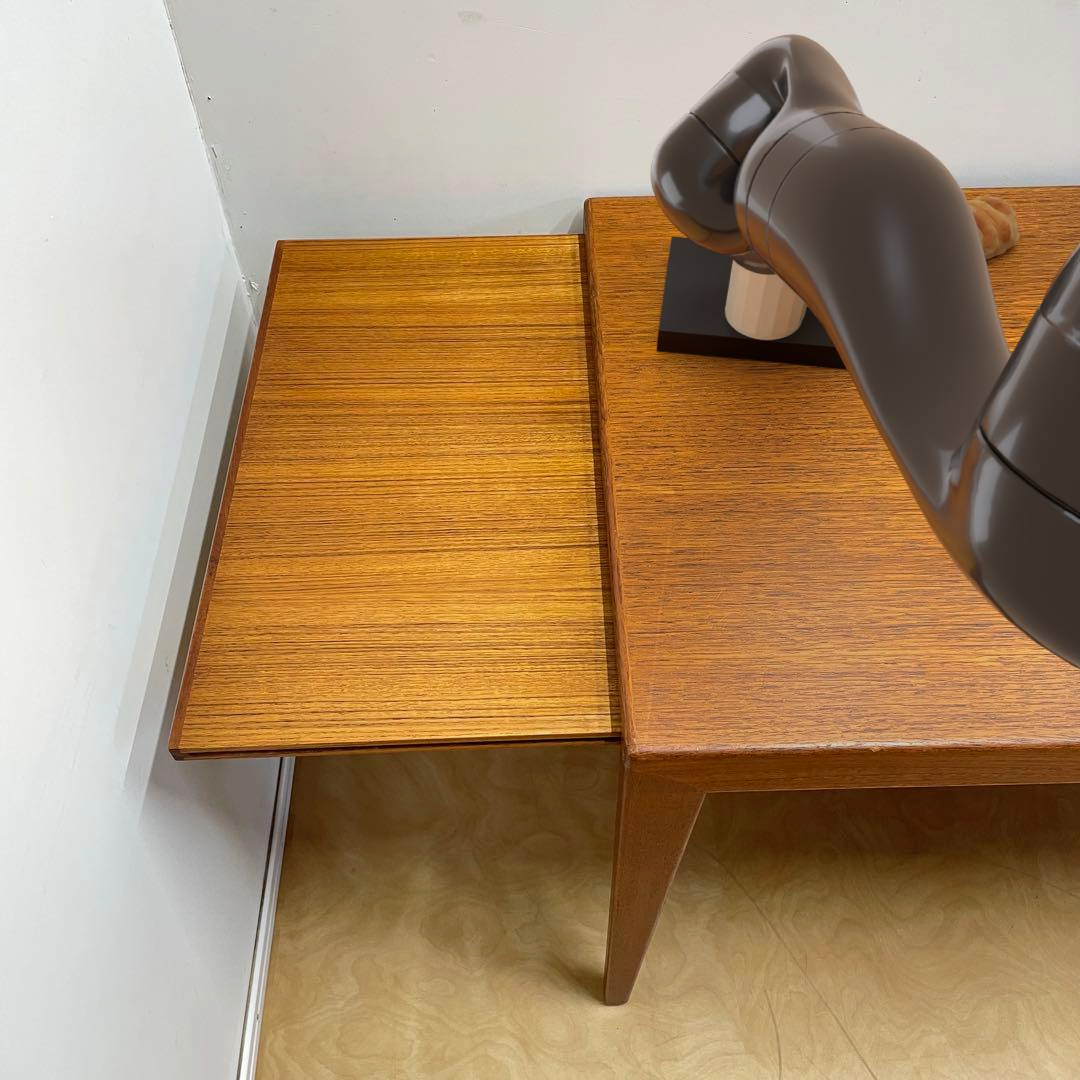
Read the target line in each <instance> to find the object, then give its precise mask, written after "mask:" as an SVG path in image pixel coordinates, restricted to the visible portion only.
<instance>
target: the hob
mask: <svg viewBox="0 0 1080 1080" xmlns="http://www.w3.org/2000/svg"><path fill="white" fill-rule="evenodd" d="M732 260H733V259H732V258H731V257H730V256H729V255H724V254H720V253H716V252H713V251H710V250H708V249H706V248H704V247H701V246H700V245H698V244H696V243H695V242H693V241H692V240H690V239H689V238H687V237H686V236H673V235H672V236H671V238H670V246H669V252H668V259H667V267H666V272H665V273H666V274H665V281H664V287H663V295H662V300H661V301H662V303H661V310H660V315H659V316H660V317H659V322H658V330H657V341H656V352H664V353H675V354H682V355H683V354H685V355H695V356H703V357H704V356H705V357H715V358H725V359H736V360H744V361H745V360H746V361H758V362H766V363H778V364H789V365H798V366H799V365H800V366H808V367H820V368H828V369H829V368H830V369H840V370H847V368H846V367H845V365H844V363H843V361H842V359H841V357H840V355H839V353H838V351H837V349H836V347H835V345H834V344H833V342H832V340H831V339H830V337H829V336H828V334H827V332H826V331H825V329H824V327H823V326H822V324H821V323H820V322H819V320H818V319H817V318H816V316H815V315H814V314H813V312H812V311H811V310H810V309H809V308H808V307H807V308H806V312H805V316H804V318H803V321H802V324H801V325H800V327H799V328H798V329H797V330H796V331H795V332H794V333H792V334H791V335H789V336H787V337H784V338H781V339H775V340H760V339H755V338H751V337H748V336H745V335H743V334H741V333H740V332H738V331H737V330H735V329H734V328H733V327H732V326H731V325H730V324H729V322H728V321H727V318H726V316H725V306H726V297H727V291H728V285H729V279H730V272H731V266H732Z"/></svg>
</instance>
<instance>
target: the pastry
mask: <svg viewBox="0 0 1080 1080" xmlns="http://www.w3.org/2000/svg"><path fill="white" fill-rule="evenodd" d="M967 201H968V204H969V206H970V208H971V211H972V213H973V215H974V218H975V220H976V223H977V226H978V229H979V232H980V236H981V241H982V245H983V250H984V254H985V259H986V261H987V260H990V259H992V258H994V257H997V256H1000V255H1003V254H1005V253H1006V251H1008V250H1009V249H1011V248H1012V247H1013V246H1015V245H1016V244H1017V243H1018V242H1019V240H1020V232H1019V224H1018V221H1017V213H1016V211H1015V208H1013V207H1012V205H1011V203H1008V201H1006V200H1005V199H1004V198H1002V197H998V196H991V195H990V194H984V195H981V196H980V195H979V196H976V197H974V199H970V200H967Z"/></svg>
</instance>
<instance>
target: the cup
mask: <svg viewBox="0 0 1080 1080" xmlns="http://www.w3.org/2000/svg"><path fill="white" fill-rule="evenodd" d="M806 308H807V305H806V304H805V303H804V302H803V301H802V300H801V298H800V297H798V296H797V295H796V294H795V293H794V292H793V291H792V290H791V289H790V288H789V287H788V286H787V285H786V284H785V283H784V282H783V281H782V280H781V279H780V278H779V277H778V276H777V275H763V274H758V273H754V272H751V271H749V270H746V269H745V268H743V267H741V266H740V265H738V264H737V263H736V262H735V261H734V260H732V266H731V272H730V279H729V285H728V291H727V297H726V306H725V316H726V318H727V321H728V322H729V324H730V325H731V326H732V327H733V328H734V329H735V330H737V331H738V332H740V333H741V334H743V335H745V336H748V337H751V338H755V339H760V340H775V339H781V338H784V337H787V336H789V335H791V334H792V333H794V332H795V331H796V330H797V329H798V328H799V327H800V325H801V324H802V321H803V318H804V316H805V312H806Z"/></svg>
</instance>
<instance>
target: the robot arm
mask: <svg viewBox="0 0 1080 1080" xmlns="http://www.w3.org/2000/svg"><path fill="white" fill-rule="evenodd" d="M649 173H650V174H649V175H650V183H651V184H650V185H651V188H652V192H653V195H654V198H655V200H656V202H657V204H658V206H659V208H660V209H661V211H662V213H663V214H664V215H665V218H667V220H668V221H669V222H670V223H671V225H672V226H673V227H674V228H676V229H677V230H678V232H680V233H681V234H682V235H683V236H684V237H686V238H689V239H690V240H692V241H693V242H695V243H696V244H698V245H700V246H701V247H704V248H706V249H708V250H710V251H713V252H716V253H720V254H724V255H729V256H730V257H731V258H732V259H733V260H734V261H735V262H736V263H737V264H738V265H740V266H741V267H743V268H745V269H746V270H749V271H751V272H754V273H758V274H763V275H777V276H778V277H779V278H780V279H781V280H782V281H783V282H784V283H785V284H786V285H787V286H788V287H789V288H790V289H791V290H792V291H793V292H794V293H795V294H796V295H797V296H798V297H800V298H801V300H802V301H803V302H804V303H805V304H806V305H807V307H808V308H809V309H810V310H811V311H812V312H813V314H814V315H815V316H816V318H817V319H818V320H819V322H820V323H821V324H822V326H823V327H824V329H825V331H826V332H827V334H828V336H829V337H830V339H831V340H832V342H833V344H834V345H835V347H836V349H837V351H838V353H839V355H840V357H841V359H842V361H843V363H844V365H845V367H846V368H847V369H846V370H847V372H848V375H849V376H850V378H851V380H852V382H853V384H854V386H855V389H856V391H857V392H858V395H859V396H860V399H861V401H862V403H863V404H864V407H865V409H866V411H867V413H868V414H869V416H870V418H871V420H872V422H873V424H874V426H875V428H876V430H877V432H878V433H879V435H880V437H881V438H882V440H883V442H884V444H885V446H886V447H887V449H888V451H889V453H890V455H891V457H892V459H893V461H894V462H895V465H896V467H897V468H898V470H899V472H900V474H901V476H902V477H903V479H904V482H905V483H906V485H907V487H908V489H909V491H910V493H911V495H912V496H913V498H914V500H915V502H916V504H917V506H918V508H919V510H920V512H921V513H922V515H923V517H924V519H925V520H926V522H927V524H928V525H929V527H930V529H931V530H932V532H933V534H934V535H935V537H936V538H937V540H938V542H939V543H940V544H941V546H942V547H943V549H944V550H945V552H946V553H947V555H948V556H949V558H950V559H951V561H952V562H953V563H954V565H955V567H957V568H958V570H959V571H960V572H961V574H962V575H963V577H964V578H965V579H966V580H967V581H968V582H969V583H970V584H971V585H972V587H974V589H975V590H976V591H977V592H978V593H979V594H980V595H981V596H982V598H983V599H984V600H985V601H986V602H987V603H988V604H989V605H990V606H991V607H992V608H993V609H994V610H995V611H996V612H998V614H1000V615H1001V616H1002V617H1003V618H1004V619H1005V620H1006V621H1008V622H1009V623H1010V624H1011V625H1013V626H1014V627H1015V628H1016V629H1018V630H1019V631H1020V632H1021V633H1022V634H1023V635H1025V636H1026V637H1027V638H1028V639H1029V640H1031V641H1032V642H1034V643H1035V644H1037V645H1038V646H1040V647H1042V648H1043V649H1045V650H1047V652H1050V653H1051V654H1053V655H1054V656H1056V657H1058V658H1059V659H1060V660H1063V662H1066V663H1067V664H1069V665H1070V666H1072V667H1074V668H1076V669H1078V670H1080V241H1079V242H1078V243H1077V244H1076V246H1075V247H1074V249H1072V251H1071V252H1070V254H1069V255H1068V256H1067V258H1066V259H1065V260H1064V262H1063V264H1062V265H1061V266H1060V267H1059V269H1058V271H1057V273H1056V275H1055V276H1054V278H1053V279H1052V281H1051V283H1050V284H1049V286H1048V288H1047V289H1046V292H1045V294H1044V297H1043V299H1042V301H1041V303H1040V305H1039V306H1037V308H1036V309H1035V311H1034V313H1033V315H1032V317H1031V318H1030V320H1029V322H1028V323H1027V325H1026V327H1025V329H1024V331H1023V333H1022V334H1021V336H1020V338H1019V340H1018V341H1017V344H1016V345H1015V347H1014V349H1013V351H1012V352H1011V350H1010V347H1009V345H1008V342H1007V340H1006V336H1005V332H1004V328H1003V325H1002V322H1001V318H1000V314H999V311H998V307H997V302H996V298H995V292H994V289H993V284H992V279H991V274H990V271H989V267H988V262H987V260H986V259H985V254H984V250H983V245H982V241H981V236H980V232H979V229H978V226H977V223H976V220H975V218H974V215H973V213H972V211H971V208H970V206H969V204H968V201H969V200H968V199H967V197H966V194H965V193H964V191H963V188H962V187H961V186H960V184H959V182H958V181H957V179H956V177H954V175H953V174H952V172H951V171H950V170H949V169H948V168H947V166H946V165H945V164H944V163H943V162H942V161H941V159H939V158H938V157H937V156H936V155H934V154H933V153H932V152H930V151H929V150H928V149H927V148H925V147H924V146H923V145H921V144H920V143H918V142H917V141H915V140H913V139H911V138H909V137H907V136H906V135H903V134H901V133H899V132H897V131H895V130H893V129H892V128H889V127H888V126H885V125H884V124H882V123H880V122H878V121H876V120H874V119H873V118H871V117H869V116H867V115H866V114H865V112H864V109H863V107H862V105H861V102H860V99H859V98H858V95H857V93H856V90H855V88H854V87H853V85H852V83H851V80H850V79H849V77H848V75H847V74H846V72H845V70H844V69H843V68H842V66H841V64H839V62H838V61H837V60H836V59H835V57H834V56H833V55H832V54H831V53H830V52H829V51H828V50H827V49H826V48H825V47H824V46H823V45H821V44H820V43H818V42H817V41H815V40H814V39H811V38H809V37H807V36H805V35H800V34H794V33H792V34H791V33H790V34H783V35H778V36H775V37H772V38H769V39H767V40H765V41H763V42H761V43H760V44H758V45H757V46H755V47H754V48H753V49H751V50H750V51H749V52H747V54H746V55H744V56H743V57H742V58H741V59H740V60H739V61H738V62H737V63H735V65H734V66H733V67H732V68H731V69H729V71H728V72H727V73H726V74H725V75H724V76H723V77H722V78H721V79H720V80H719V81H718V82H717V83H715V85H713V86H712V87H711V89H709V90H708V91H707V92H706V93H705V94H704V95H703V96H702V97H701V98H700V99H699V100H698V101H697V102H696V103H695V104H694V105H692V107H691V108H690V109H689V110H688V112H685V113H684V114H683V115H682V116H681V117H680V118H679V119H678V120H677V121H676V122H675V123H674V124H673V125H672V126H671V127H670V128H669V129H668V131H667V132H666V133H665V134H664V135H663V136H662V138H661V139H660V141H659V143H658V144H657V146H656V148H655V150H654V153H653V156H652V158H651V163H650V171H649Z"/></svg>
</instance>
